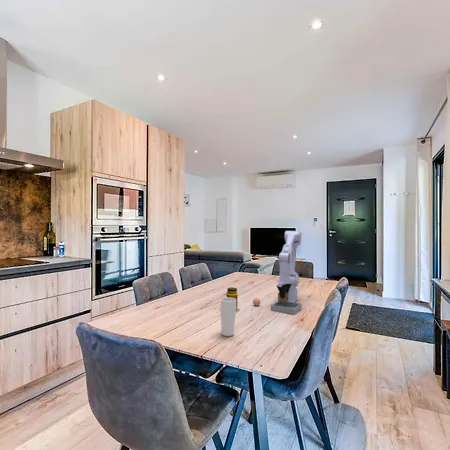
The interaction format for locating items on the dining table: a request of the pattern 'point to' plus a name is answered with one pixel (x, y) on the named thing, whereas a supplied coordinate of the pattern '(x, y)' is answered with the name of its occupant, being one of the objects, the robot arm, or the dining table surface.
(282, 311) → the tray
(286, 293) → the cube
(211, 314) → the dining table surface
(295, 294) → the robot arm
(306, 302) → the dining table surface
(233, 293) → the condiment
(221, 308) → the drinking glass
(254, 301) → the ball
